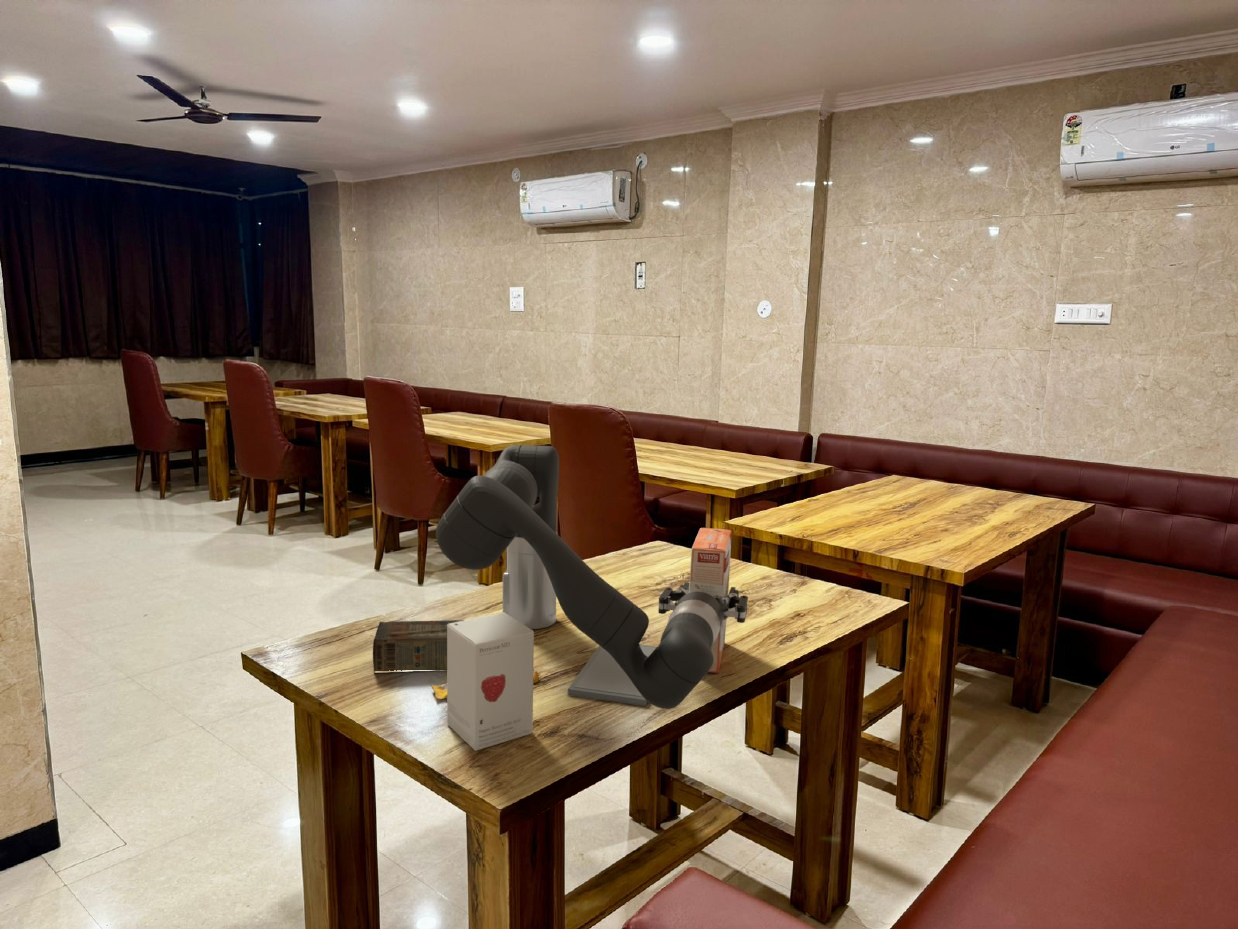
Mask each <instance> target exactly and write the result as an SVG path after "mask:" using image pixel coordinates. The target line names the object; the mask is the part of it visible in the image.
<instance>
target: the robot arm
mask: <svg viewBox="0 0 1238 929" xmlns="http://www.w3.org/2000/svg"><path fill="white" fill-rule="evenodd" d="M559 477H560V456H559V453H558V451H557V449H556V448H555V447H554V446H550V445H532V444H531V445H527V444H522V445H521V444H514V445H509V446H507V447H506V448H504V449H503V450H502V451H501V453H500V455H499V456H498V458H497V460H496V462H495V464H494V465H493V466H492V467H491V468H490V469H488V470H487V471H486V472H485V473H484V474H483V475H476V476H473V477H471V478H470V479H469V480H468V481H467V483H466V484H465V485H464V486H463V488H462V489H461V491H459V493H458V494H457V495H456V497H455V498H454V500H453V501H452V502H451V504H450V505H449V506H448V508H447V509H446V510H445V512H444V513H443V514H442V516H441V517H440V519H439V521H438V522H437V526H436V530H435V538H436V541H437V545H438V547H439V549H440V550H441V552H442V553H443V555H444V556H445V557H446V558H447V559H449V561H450V562H452V563H453V564H454V565H456V566H459V567H462V568H464V569H466V570H472V571H479V570H484V569H487V568H490V567H491V566H493V565H494V564H495V563H496V562H497V561H498V560H499V559H500V557H502V555H503V553H504V552H505V550H506V571H505V572H503V574H502V613H503V612H504V613H506V614H508V615H509V616H511V617H512V618H514V619H515V620H517V621H518V622H520V623H521V624H523V625H525V626H527V627H528V628H530V629H531V630H538V629H544V628H548V627H551V626H552V625H554V624H555V623H556V621H557V601H558V603H559V605H560V607H561V610H562V611H563V613H564V615H565V616H566V617H567V619H568V620H569V621H570V622H571V624H572V625H573V626H574V627H576V628H577V629H578V631H580V632H581V633H582V634H584V635H585V636H587V637H588V638H589V639H591V640H592V641H593V642H594V643H595V644H597V645H598V647H599V646H602V648H603V649H604V650H606V651H607V652H608V653H609V654H610V655H611V656H612V657H613V658H614V660H615V661H616V662H617V663H618V664H619V666H620V667H621V668H622V669H623V671H624V672H625V673H626V675H627V676H628V677H629V678H630V680H631V681H632V683H633V684H634V686H635V687H636V688H637V690H638V691H639V692H640V694H641V695H642V696H643V697H644V698H645V699H646V700H647V701H648V702H647V703H649V704H651V705H652V706H654V707H656V708H659V709H664V710H672V709H674V708H676V707H678V706H679V705H680V704H681V703H682V702H683V701H684V700H685V699H686V698H687V696H688V695H689V694H690V693H691V692H692V691H693V690H694V689H695V688H696V687H697V685H698V684H700V682H701V681H702V680H703V679H704V677H705V676H706V675H707V674H708V673H709V672H708V671H709V670H710V668H711V666H712V664H713V660H714V658H713V654H712V652H711V647H712V646H713V644H714V643H715V641H716V639H717V636H718V633H719V630H720V628H721V625H722V622H723V620H725V619H726V620H727V619H728V618H734V619H735V620H736V622H737V623H739V624H742V623H745V622H746V619H747V618H746V617H747V615H748V601H749V597H748V596H747V595H740V591H739V590H738V589H737V588H736V586H735V587H734V586H731V587H730V589H729V591H728V595H726V594H724V596H711V595H709V594H707V593H704V592H691V593H689V589H690V582H687V581H685V582H684V583H683V584H680V585H679V587H677V588H676V590H673V587H665V588H664V590H663V591H662V593H661V594H660V596H659V597H658V610H657V611H658V614H660V615H663V614H666V613H667V612H671V611H672V612H671V613H670V614H669V617H668V619H667V624H666V626H665V628H664V630H663V632H662V635H661V637H660V642H659V644H658V645H657V646H656V649H655V650H654V651H653V652H652V653H651V654H650V655H649V657H647V656H646V655H645V654H644V653H643V651H642V650H641V647H640V645H641V644H640V643H641V641H642V639H643V638H644V635H645V634H646V632H647V630H648V627H649V623H650V619H649V616H648V614H647V613H646V612H645V611H644V610H643V609H642V608H640V607H639V606H638V605H637V604H635V603H634V602H633V601H631V600H630V599H629V598H627V597H626V596H625V595H624V594H622V593H621V592H620V591H619V590H618V589H616V588H614V586H613V585H610V584H609V583H608V581H606V580H605V579H603V578H602V577H601V576H600V575H599V574H597V572H595V571H594V570H593V569H592V568H591V567H590V566H589V565H588V564H587V563H586V562H585V561H584V560H583V559H582V558H581V557H580V556H579V555H578V554H577V553H576V552H575V551H574V550H573V549H572V547H570V546H569V545H568V544H567V542H565V541H564V540H563V539H562V538H561V537H560V536H559V534H558V497H559V496H558V493H559V479H560V478H559ZM538 497H539V502H538V503H536V502H537V498H538ZM721 600H724V603H722V602H721ZM639 644H640V645H639Z"/></svg>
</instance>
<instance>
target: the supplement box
mask: <svg viewBox="0 0 1238 929" xmlns="http://www.w3.org/2000/svg"><path fill="white" fill-rule="evenodd" d="M463 620H464V621H459V622H454V623H449V624H447V671H446V684H447V698H446V699H447V700H446V701H447V703H446V705H447V707H446V708H447V711H446V712H447V714H446V717H447V719H446V721H447V725H448V726H449V727H450V728H451V729H452V730H453V731H454V732H455V733H456V734H457V735H458V736H459V737H460V738H461V740H464V742H466V744H468V746H469V747H470V748H472V750H473V751H474V752H477V751H480V750H483V749H486V748H490V747H492V746H495V745H499V744H502V743H505V742H509V741H512V740H515V739H519V738H521V737H526V736H528V735H531V734H533V733H534V732H533V730H534V728H533V727H534V726H533V725H534V723H533V722H534V721H533V720H534V716H533V715H534V683H533V675H534V671H533V669H534V661H535V660H534V655H535V654H534V653H535V652H534V651H535V650H534V647H535V646H534V645H535V632H534V629H530V628H528V627H527V626H525V625H523V624H521V623H520V622H518V621H517V620H515V619H514V618H512V617H511V616H509V615H508V614H506V613H504V612H503V611H502V612H499V613H495V614H489V615H483V616H477V617H473V618H469V619H463Z"/></svg>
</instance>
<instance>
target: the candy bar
mask: <svg viewBox="0 0 1238 929" xmlns="http://www.w3.org/2000/svg"><path fill="white" fill-rule="evenodd" d="M534 671H535V668H533V672H534ZM541 678H542V676H541V675H540V673H538V671H535V673H534V674H533V684H536V683H538V682H539V680H540V679H541ZM430 687H431V689H432V690H433V692H434V695H435V698H436V699H438V700H443V699H447V683H444V684H441V685H439V686H437V685H432V684H431V685H430Z"/></svg>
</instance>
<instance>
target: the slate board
mask: <svg viewBox="0 0 1238 929" xmlns="http://www.w3.org/2000/svg"><path fill="white" fill-rule="evenodd" d="M639 645H640V647H641V650H642V651H643V653H644V654H645V655H646V656H647V657H649V655H650V654H651V653H652V652H653V651H654V650H655V649H656V647H657V646H655V645H646V644H639ZM567 696H570V697H571V696H572V697H579V698H583V699H585V698H586V699H593V700H600V701H605V702H613V703H621V704H628V705H634V706H635V705H636V706H641V707H646V706H647V704H648V703H649V702H648V701H647V700H646V699H645V698H644V697H643V696H642V695H641V694H640V692H639V691H638V690H637V688H636V687H635V686H634V684H633V683H632V681H631V680H630V678H629V677H628V676H627V675H626V673H625V672H624V671H623V669H622V668H621V667H620V666H619V664H618V663H617V662H616V661H615V660H614V658H613V657H612V656H611V655H610V654H609V653H608V652H607V651H606V650H604V649H603V648H602V646H599V645H598V647H597V648H596V650H595V651H594V653H593V654H592V656H591V657H590V658H589V660H588V661H587V662H586V664H585V665H584V666H583V667H582V669H581V670H580V672H579V673H578V675H577V676H576V677H575V679H574V680H573V682H572V683H570V686H569V687H568V688H567Z"/></svg>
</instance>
